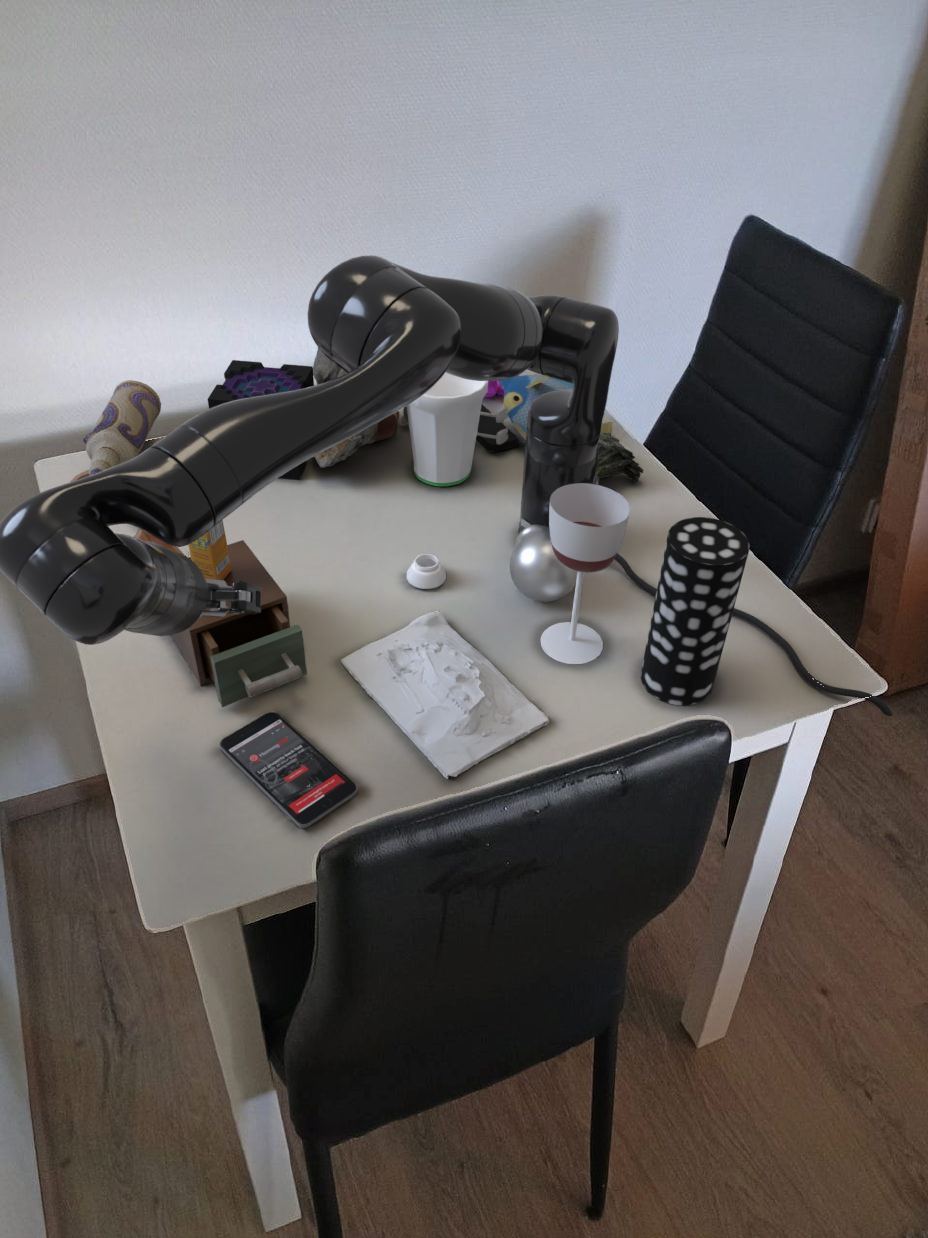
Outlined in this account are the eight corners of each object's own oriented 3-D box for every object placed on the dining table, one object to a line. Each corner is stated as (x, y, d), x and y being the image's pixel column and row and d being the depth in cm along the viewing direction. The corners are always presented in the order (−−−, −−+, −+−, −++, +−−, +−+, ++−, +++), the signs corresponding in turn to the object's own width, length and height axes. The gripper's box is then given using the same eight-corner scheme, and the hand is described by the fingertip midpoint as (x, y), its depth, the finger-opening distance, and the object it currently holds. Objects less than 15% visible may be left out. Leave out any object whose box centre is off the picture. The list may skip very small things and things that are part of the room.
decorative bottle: (107, 405, 157) (121, 370, 153) (154, 427, 159) (168, 392, 155) (57, 487, 136) (71, 448, 132) (111, 510, 138) (127, 472, 135)
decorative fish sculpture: (513, 330, 150) (496, 411, 143) (634, 372, 153) (622, 454, 147) (489, 378, 161) (471, 455, 154) (602, 417, 164) (589, 494, 158)
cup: (500, 465, 150) (505, 371, 140) (454, 504, 142) (457, 407, 132) (430, 440, 155) (431, 347, 145) (383, 476, 147) (380, 381, 137)
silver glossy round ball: (610, 562, 124) (561, 499, 126) (564, 587, 118) (513, 520, 120) (570, 599, 131) (525, 539, 133) (525, 625, 125) (477, 561, 126)
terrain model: (428, 618, 125) (427, 585, 122) (566, 712, 112) (569, 678, 109) (321, 680, 116) (317, 646, 113) (457, 789, 103) (457, 754, 100)
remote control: (519, 449, 155) (473, 402, 164) (520, 439, 153) (473, 392, 163) (491, 456, 153) (446, 408, 162) (491, 446, 152) (446, 398, 161)
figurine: (516, 394, 151) (413, 379, 158) (497, 407, 146) (392, 391, 154) (516, 441, 154) (416, 424, 162) (498, 455, 150) (395, 437, 158)
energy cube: (318, 438, 155) (312, 366, 147) (299, 480, 146) (292, 405, 138) (242, 431, 156) (232, 359, 148) (218, 472, 147) (207, 398, 139)
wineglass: (589, 675, 117) (610, 536, 104) (523, 647, 120) (536, 508, 107) (618, 637, 122) (642, 499, 109) (555, 611, 125) (570, 475, 112)
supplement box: (192, 581, 115) (178, 508, 108) (208, 564, 117) (196, 491, 110) (217, 588, 114) (204, 515, 107) (233, 571, 116) (222, 498, 110)
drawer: (322, 695, 112) (318, 651, 108) (236, 730, 108) (228, 685, 103) (266, 617, 122) (260, 574, 117) (185, 647, 117) (175, 602, 113)
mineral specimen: (654, 497, 145) (614, 509, 154) (646, 410, 146) (606, 426, 155) (567, 499, 139) (530, 510, 148) (559, 407, 139) (522, 424, 148)
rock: (397, 452, 133) (304, 381, 127) (327, 499, 150) (242, 438, 144) (464, 320, 144) (382, 249, 139) (392, 377, 161) (316, 316, 155)
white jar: (453, 579, 129) (427, 562, 132) (454, 561, 128) (427, 544, 130) (425, 596, 127) (398, 578, 129) (425, 578, 125) (398, 560, 127)
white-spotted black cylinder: (712, 711, 113) (750, 570, 100) (637, 699, 114) (665, 558, 101) (713, 661, 119) (749, 523, 106) (642, 650, 120) (669, 512, 107)
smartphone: (302, 827, 98) (216, 742, 106) (302, 831, 99) (217, 747, 107) (360, 787, 102) (273, 708, 110) (360, 792, 103) (274, 713, 111)
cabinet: (293, 651, 119) (286, 596, 113) (200, 686, 114) (189, 630, 108) (251, 593, 126) (243, 539, 121) (162, 624, 122) (150, 569, 116)
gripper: (235, 545, 84) (271, 566, 100) (65, 543, 84) (128, 564, 100) (234, 634, 84) (270, 641, 100) (62, 633, 84) (126, 640, 100)
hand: (199, 603), depth 100 cm, fingers open, 8 cm apart
